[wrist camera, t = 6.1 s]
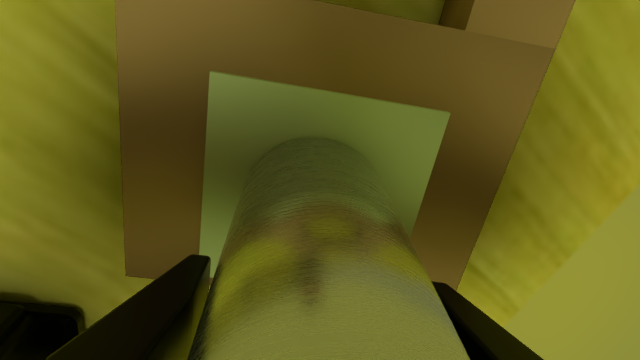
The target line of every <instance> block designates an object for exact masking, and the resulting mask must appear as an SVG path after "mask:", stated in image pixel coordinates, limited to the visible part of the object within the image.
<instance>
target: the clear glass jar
mask: <svg viewBox="0 0 640 360" xmlns="http://www.w3.org/2000/svg"><path fill="white" fill-rule="evenodd" d="M187 360H470V358H469V356H468V354H467V352H466V350H465V348H464V346H463V344H462V342H461V340H460V338H459V336H458V334H457V332H456V330H455V328H454V326H453V324H452V322H451V320H450V318H449V316H448V314H447V312H446V310H445V308H444V306H443V304H442V302H441V300H440V298H439V296H438V294H437V292H436V290H435V288H434V286H433V284H432V282H431V280H430V278H429V276H428V274H427V272H426V270H425V268H424V266H423V264H422V262H421V260H420V258H419V256H418V254H417V252H416V250H415V248H414V246H413V244H412V242H411V240H410V238H409V236H408V234H407V232H406V230H405V228H404V226H403V224H402V222H401V220H400V218H399V216H398V214H397V212H396V210H395V208H394V206H393V204H392V202H391V200H390V198H389V196H388V194H387V192H386V190H385V188H384V186H383V184H382V182H381V180H380V178H379V176H378V174H377V172H376V171H375V169H374V167H373V166H372V165H371V163H370V162H369V161H368V160H367V159H366V158H365V157H364V156H363V155H362V154H361V153H359V152H358V151H357V150H355V149H354V148H352V147H350V146H348V145H346V144H344V143H341V142H338V141H336V140H331V139H327V138H317V137H313V138H301V139H295V140H292V141H288V142H285V143H283V144H281V145H278V146H276V147H275V148H273V149H271V150H270V151H268V152H267V153H266V154H264V155H263V156H262V157H261V158H260V159H259V160H258V161H257V162H256V163H255V164H254V165H253V167H252V168H251V170H250V171H249V173H248V175H247V177H246V179H245V181H244V184H243V187H242V190H241V193H240V196H239V199H238V203H237V206H236V209H235V212H234V215H233V218H232V221H231V224H230V227H229V231H228V234H227V237H226V240H225V243H224V246H223V249H222V252H221V256H220V259H219V262H218V265H217V268H216V271H215V274H214V277H213V281H212V284H211V287H210V290H209V293H208V296H207V299H206V302H205V305H204V309H203V312H202V315H201V318H200V321H199V324H198V327H197V330H196V334H195V337H194V340H193V343H192V346H191V349H190V352H189V355H188V358H187Z"/></svg>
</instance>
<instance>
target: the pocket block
mask: <svg viewBox="0 0 640 360" xmlns="http://www.w3.org/2000/svg"><path fill="white" fill-rule="evenodd" d="M575 1H576V0H446V1H445V5H444V8H443V12H442V15H441V19H440V22H439V25H435V24H430V23H425V22H420V21H415V20H410V19H405V18H400V17H395V16H390V15H385V14H380V13H375V12H370V11H365V10H360V9H356V8H351V7H346V6H341V5H336V4H331V3H326V2H321V1H316V0H115V12H116V37H117V63H118V89H119V115H120V140H121V166H122V192H123V218H124V243H125V269H126V276H130V277H140V278H149V279H157V278H158V277H160V276H161V275H163V274H164V273H165V272H167V271H168V270H169V269H171V268H172V267H174V266H175V265H176V264H178V263H179V262H181V261H182V260H183V259H185V258H186V257H188V256H189V255H191V254H197V255H206V256H209V257H210V258H211V268H210V281H209V285H211V284H212V281H213V277H214V274H215V271H216V268H217V265H218V262H219V259H220V256H221V252H222V249H223V246H224V243H225V240H226V237H227V234H228V231H229V227H230V224H231V221H232V218H233V215H234V212H235V209H236V206H237V203H238V199H239V196H240V193H241V190H242V187H243V184H244V181H245V179H246V177H247V175H248V173H249V171H250V170H251V168H252V167H253V165H254V164H255V163H256V162H257V161H258V160H259V159H260V158H261V157H262V156H263V155H264V154H266V153H267V152H268V151H270V150H271V149H273V148H275V147H276V146H278V145H281V144H283V143H285V142H288V141H292V140H295V139H301V138H313V137H317V138H327V139H331V140H336V141H338V142H341V143H344V144H346V145H348V146H350V147H352V148H354V149H355V150H357V151H358V152H359V153H361V154H362V155H363V156H364V157H365V158H366V159H367V160H368V161H369V162H370V163H371V165H372V166H373V167H374V169H375V171H376V172H377V174H378V176H379V178H380V180H381V182H382V184H383V186H384V188H385V190H386V192H387V194H388V196H389V198H390V200H391V202H392V204H393V206H394V208H395V210H396V212H397V214H398V216H399V218H400V220H401V222H402V224H403V226H404V228H405V230H406V232H407V234H408V236H409V238H410V240H411V242H412V244H413V246H414V248H415V250H416V252H417V254H418V256H419V258H420V260H421V262H422V264H423V266H424V268H425V270H426V272H427V274H428V276H429V278H430V280H431V281H434V282H443V283H446V284H447V285H449V286H450V287H451V288H453V289H454V290H455V291H456V289H457V287H458V285H459V282H460V280H461V277H462V275H463V272H464V270H465V268H466V265H467V263H468V260H469V258H470V255H471V253H472V251H473V248H474V246H475V243H476V241H477V238H478V236H479V234H480V231H481V229H482V226H483V224H484V221H485V219H486V217H487V214H488V212H489V209H490V207H491V204H492V202H493V200H494V197H495V195H496V192H497V190H498V187H499V185H500V183H501V180H502V178H503V175H504V173H505V170H506V168H507V166H508V163H509V161H510V158H511V156H512V153H513V151H514V149H515V146H516V144H517V141H518V139H519V137H520V134H521V132H522V129H523V127H524V124H525V122H526V120H527V117H528V115H529V112H530V110H531V107H532V105H533V103H534V100H535V98H536V95H537V93H538V90H539V88H540V86H541V83H542V81H543V78H544V76H545V73H546V71H547V69H548V66H549V64H550V61H551V59H552V56H553V54H554V52H555V49H556V47H557V44H558V42H559V39H560V37H561V35H562V32H563V30H564V27H565V25H566V22H567V20H568V18H569V15H570V13H571V10H572V8H573V5H574V3H575Z"/></svg>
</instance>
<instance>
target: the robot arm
mask: <svg viewBox="0 0 640 360" xmlns="http://www.w3.org/2000/svg"><path fill="white" fill-rule="evenodd" d="M210 268H211V258H210V257H209V256H206V255H197V254H191V255H189V256H188V257H186V258H185V259H183V260H182V261H181V262H179V263H178V264H176V265H175V266H174V267H172V268H171V269H169V270H168V271H167V272H165V273H164V274H163V275H161V276H160V277H158V278H157V279H156V280H154V281H153V282H151V283H150V284H149V285H147V286H146V287H144V288H143V289H142V290H140V291H139V292H137V293H136V294H135V295H133V296H132V297H131V298H129V299H128V300H126V301H125V302H124V303H122V304H121V305H119V306H118V307H117V308H115V309H114V310H112V311H111V312H110V313H108V314H107V315H106V316H104V317H103V318H101V319H100V320H99V321H97V322H96V323H94V324H93V325H92V326H90V327H89V328H87V329H86V330H85V331H84V327H83V317H82V314H81V313H80V312H79V311H78V310H76V309H74V308H70V307H60V306H50V305H39V304H28V303H18V302H7V301H0V360H187V358H188V355H189V352H190V349H191V346H192V343H193V340H194V337H195V334H196V330H197V327H198V324H199V321H200V318H201V315H202V312H203V309H204V305H205V302H206V299H207V296H208V291H209V281H210ZM431 282H432V284H433V286H434V288H435V290H436V292H437V294H438V296H439V298H440V300H441V302H442V304H443V306H444V308H445V310H446V312H447V314H448V316H449V318H450V320H451V322H452V324H453V326H454V328H455V330H456V332H457V334H458V336H459V338H460V340H461V342H462V344H463V346H464V348H465V350H466V352H467V354H468V356H469V358H470V360H543V359H542V358H541V357H540V356H538V355H537V354H536V353H534V352H533V351H532V350H531V349H529V348H528V347H527V346H525V345H524V344H523V343H522V342H520V341H519V340H518V339H517V338H515V337H514V336H513V335H511V334H510V333H509V332H508V331H506V330H505V329H504V328H503V327H501V326H500V325H499V324H497V323H496V322H495V321H494V320H492V319H491V318H490V317H488V316H487V315H486V314H485V313H483V312H482V311H481V310H479V309H478V308H477V307H476V306H474V305H473V304H472V303H471V302H469V301H468V300H467V299H465V298H464V297H463V296H462V295H460V294H459V293H458V292H456V291H455V290H454V289H453V288H451V287H450V286H449V285H447V284H446V283H443V282H434V281H431ZM67 319H68V320H67Z"/></svg>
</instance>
